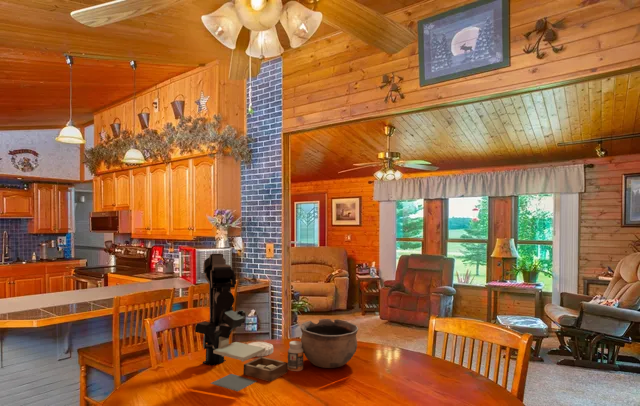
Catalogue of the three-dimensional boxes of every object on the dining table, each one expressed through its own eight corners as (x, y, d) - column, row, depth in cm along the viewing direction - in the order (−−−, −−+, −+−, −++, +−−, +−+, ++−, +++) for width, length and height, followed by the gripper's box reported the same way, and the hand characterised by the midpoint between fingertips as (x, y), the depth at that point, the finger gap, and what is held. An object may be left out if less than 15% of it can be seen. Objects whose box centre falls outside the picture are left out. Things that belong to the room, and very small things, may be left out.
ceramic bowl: (345, 353, 174) (345, 317, 175) (367, 372, 154) (367, 330, 154) (293, 358, 167) (294, 320, 168) (309, 378, 147) (310, 335, 147)
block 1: (254, 374, 149) (254, 367, 149) (258, 371, 151) (258, 364, 152) (261, 375, 148) (261, 368, 148) (265, 372, 150) (265, 365, 150)
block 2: (265, 373, 150) (265, 366, 150) (272, 371, 152) (272, 364, 152) (270, 375, 147) (270, 368, 148) (277, 373, 150) (277, 366, 150)
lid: (204, 354, 141) (204, 341, 141) (227, 345, 151) (227, 334, 151) (243, 364, 132) (243, 351, 133) (264, 354, 142) (265, 342, 142)
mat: (210, 385, 140) (210, 383, 140) (231, 375, 149) (231, 373, 149) (237, 393, 134) (237, 391, 134) (257, 382, 142) (257, 380, 142)
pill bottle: (301, 373, 152) (301, 345, 152) (285, 371, 153) (286, 344, 153) (304, 367, 157) (305, 341, 158) (289, 366, 158) (290, 339, 159)
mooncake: (238, 353, 173) (238, 344, 173) (262, 347, 181) (262, 339, 181) (254, 361, 164) (254, 351, 164) (279, 354, 172) (279, 345, 173)
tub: (243, 375, 148) (243, 364, 148) (261, 367, 157) (261, 356, 157) (270, 383, 142) (270, 371, 142) (287, 373, 151) (287, 362, 151)
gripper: (219, 311, 133) (218, 360, 133) (256, 301, 149) (256, 345, 149) (194, 306, 139) (193, 354, 139) (233, 297, 155) (232, 339, 155)
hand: (220, 348), depth 145 cm, fingers closed on lid, 4 cm apart
